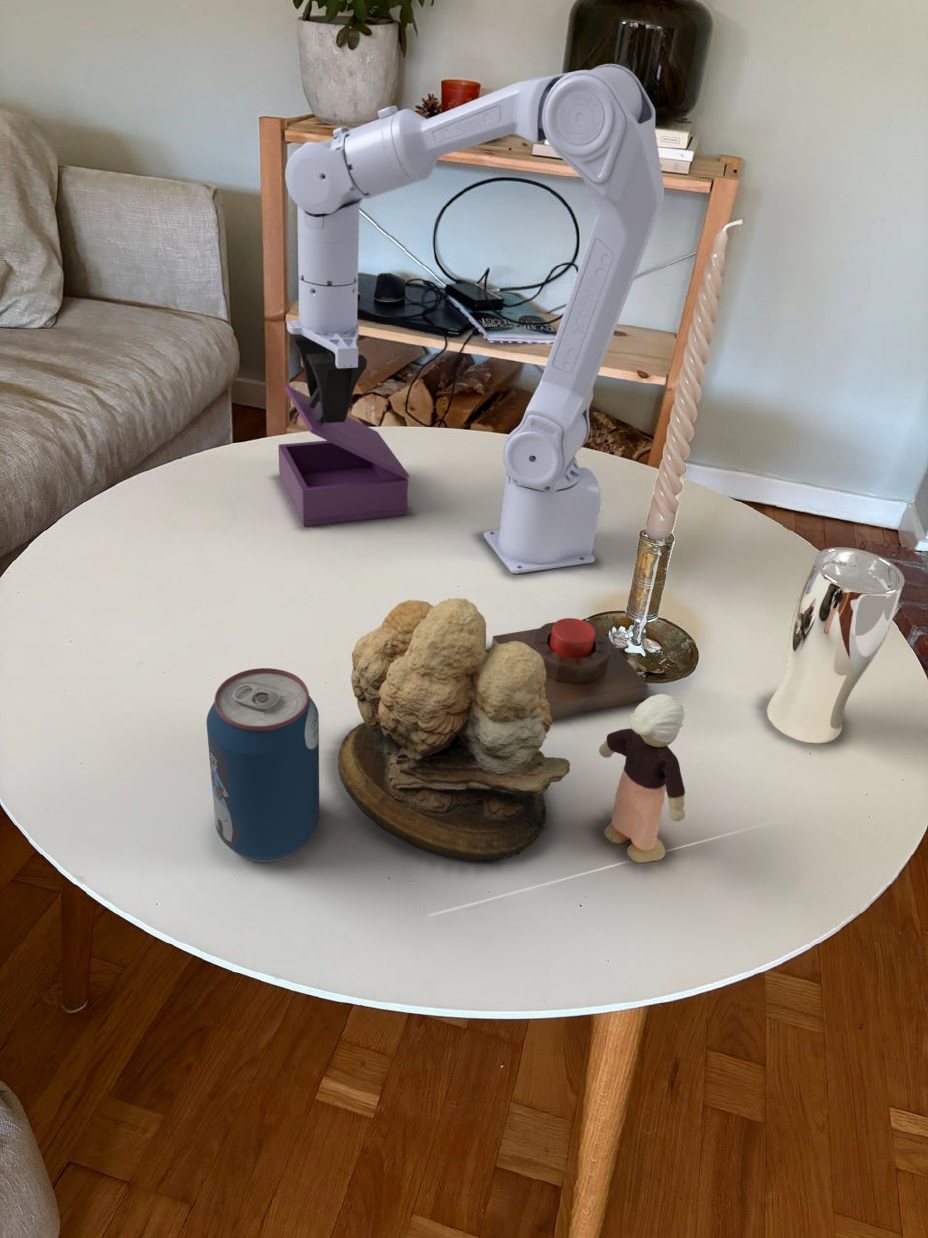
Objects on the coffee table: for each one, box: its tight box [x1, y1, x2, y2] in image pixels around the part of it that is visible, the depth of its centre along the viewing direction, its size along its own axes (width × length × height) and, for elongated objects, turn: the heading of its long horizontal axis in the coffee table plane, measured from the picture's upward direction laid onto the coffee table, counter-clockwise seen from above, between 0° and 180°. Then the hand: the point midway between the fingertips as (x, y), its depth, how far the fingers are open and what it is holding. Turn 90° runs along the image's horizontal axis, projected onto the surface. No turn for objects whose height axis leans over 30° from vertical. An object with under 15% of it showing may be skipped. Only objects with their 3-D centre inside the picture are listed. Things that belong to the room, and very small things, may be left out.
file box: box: [277, 440, 409, 527], centre depth 105 cm, size 11×11×4 cm
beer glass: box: [766, 546, 905, 744], centre depth 76 cm, size 7×7×15 cm
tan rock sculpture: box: [337, 597, 571, 862], centre depth 66 cm, size 18×12×17 cm, turn 56°
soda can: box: [206, 667, 320, 863], centre depth 62 cm, size 7×7×12 cm
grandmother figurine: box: [598, 693, 686, 864], centre depth 65 cm, size 8×4×13 cm, turn 48°
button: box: [550, 617, 595, 659], centre depth 81 cm, size 4×4×2 cm
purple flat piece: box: [284, 384, 410, 480], centre depth 102 cm, size 12×11×4 cm
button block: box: [491, 619, 649, 720], centre depth 82 cm, size 10×10×4 cm
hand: (327, 410), depth 100 cm, fingers closed on purple flat piece, 5 cm apart
